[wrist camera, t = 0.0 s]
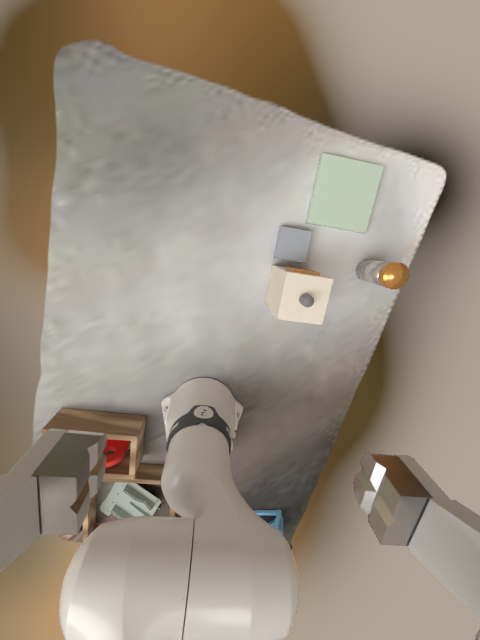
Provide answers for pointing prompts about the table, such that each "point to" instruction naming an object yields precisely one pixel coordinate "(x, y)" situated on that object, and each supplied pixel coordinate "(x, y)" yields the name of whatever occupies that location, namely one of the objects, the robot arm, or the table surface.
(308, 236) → the cover plate
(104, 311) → the table surface
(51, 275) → the table surface
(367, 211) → the pad
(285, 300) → the box
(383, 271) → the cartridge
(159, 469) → the brown wooden tray
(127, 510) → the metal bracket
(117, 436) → the bracket holder
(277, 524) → the chair
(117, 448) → the bracket
